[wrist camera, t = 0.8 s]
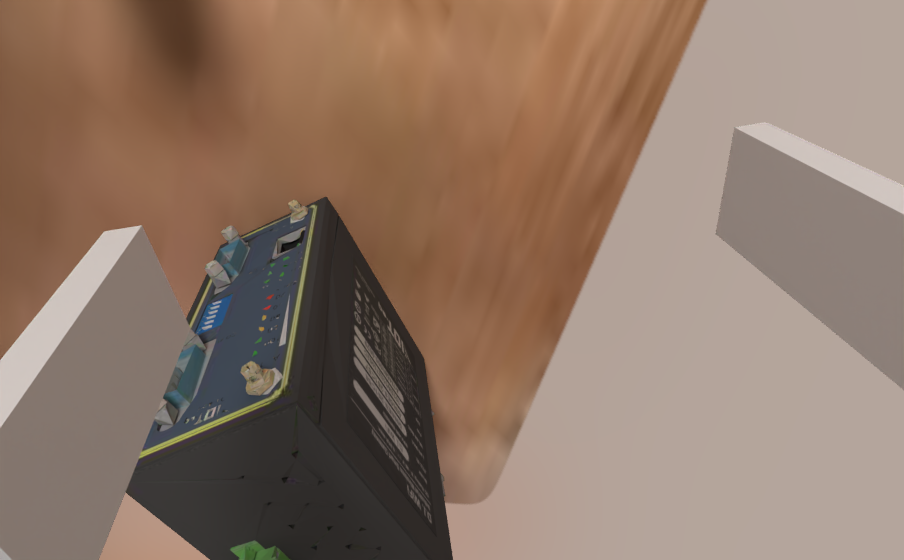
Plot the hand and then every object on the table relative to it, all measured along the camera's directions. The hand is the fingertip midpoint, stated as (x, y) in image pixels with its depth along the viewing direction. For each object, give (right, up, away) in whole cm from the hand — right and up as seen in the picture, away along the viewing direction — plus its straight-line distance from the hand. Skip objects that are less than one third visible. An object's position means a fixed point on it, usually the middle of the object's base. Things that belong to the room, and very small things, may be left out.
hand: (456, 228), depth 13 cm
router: (-9, -3, +28) cm, 29 cm away
